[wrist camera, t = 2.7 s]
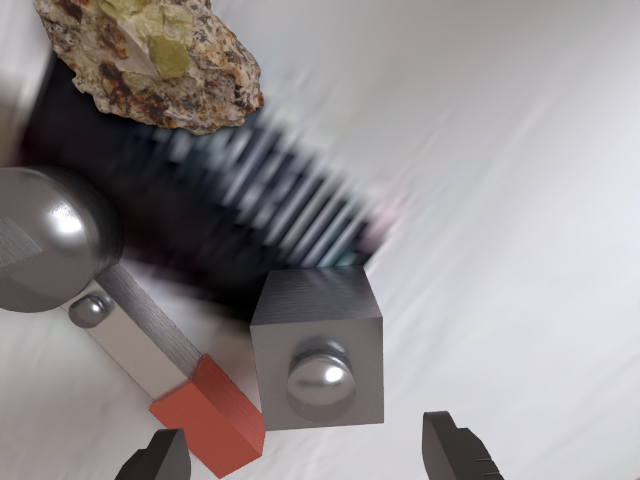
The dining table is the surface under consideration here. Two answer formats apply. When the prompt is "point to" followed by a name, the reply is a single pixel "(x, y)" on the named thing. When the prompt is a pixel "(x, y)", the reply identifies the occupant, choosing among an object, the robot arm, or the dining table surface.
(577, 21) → the dining table surface
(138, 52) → the mineral rock
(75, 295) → the ratchet
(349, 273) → the domed steel cube
